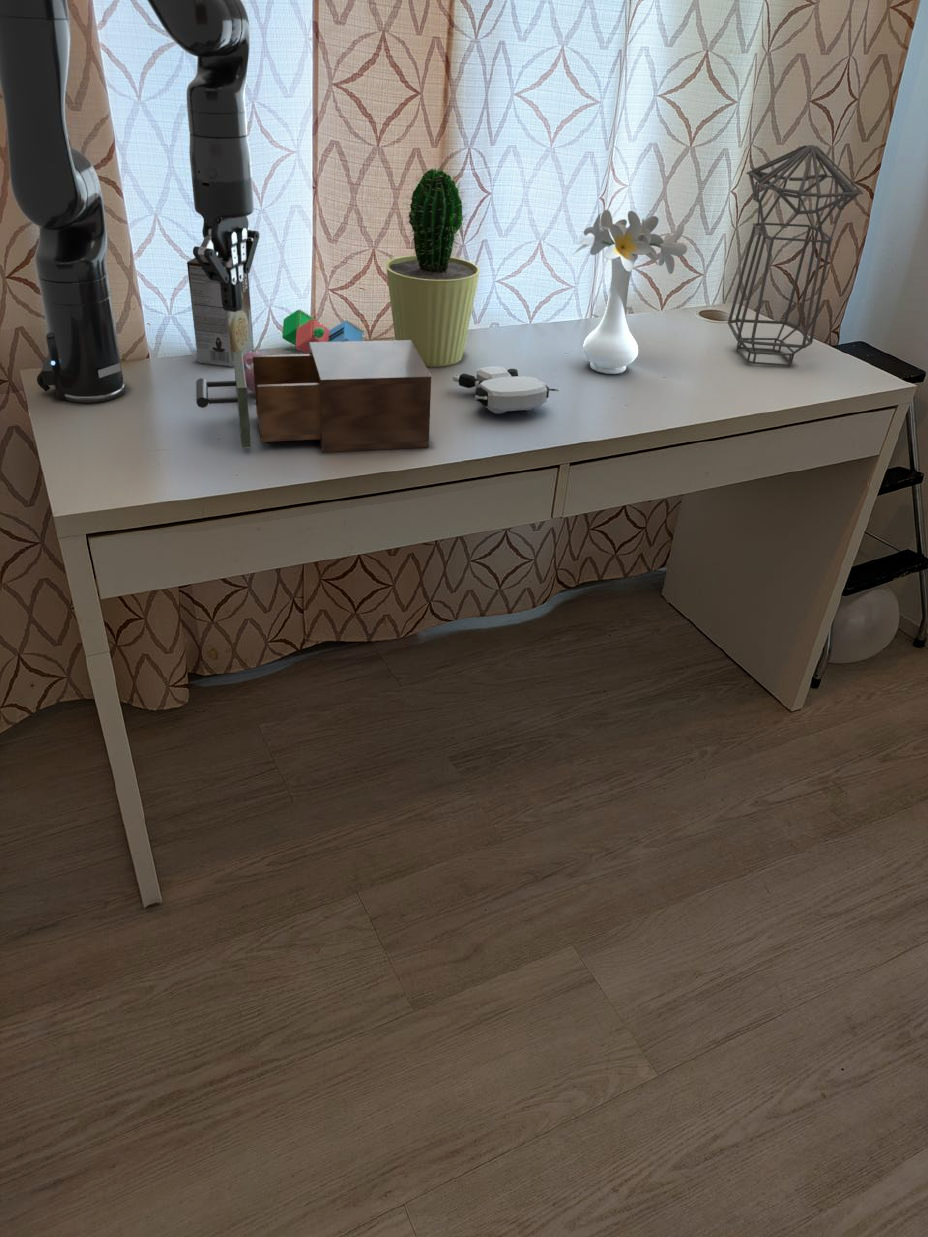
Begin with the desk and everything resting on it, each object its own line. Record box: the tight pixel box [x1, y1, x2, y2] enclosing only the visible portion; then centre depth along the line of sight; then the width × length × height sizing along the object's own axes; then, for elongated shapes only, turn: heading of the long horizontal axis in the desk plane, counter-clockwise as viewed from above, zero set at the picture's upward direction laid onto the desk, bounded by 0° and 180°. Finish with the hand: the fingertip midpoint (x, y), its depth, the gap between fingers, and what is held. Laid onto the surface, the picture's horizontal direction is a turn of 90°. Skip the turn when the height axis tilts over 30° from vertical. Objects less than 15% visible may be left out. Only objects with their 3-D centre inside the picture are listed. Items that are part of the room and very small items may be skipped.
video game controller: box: [242, 349, 264, 394], centre depth 148 cm, size 10×5×7 cm, turn 5°
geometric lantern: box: [727, 144, 864, 367], centre depth 165 cm, size 16×16×35 cm
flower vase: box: [572, 209, 688, 375], centre depth 160 cm, size 13×18×25 cm
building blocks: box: [281, 309, 365, 354], centre depth 163 cm, size 8×8×12 cm
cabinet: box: [309, 339, 432, 453], centre depth 137 cm, size 15×15×10 cm
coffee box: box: [186, 257, 255, 368], centre depth 156 cm, size 9×6×16 cm
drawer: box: [195, 352, 322, 449], centre depth 134 cm, size 19×14×8 cm
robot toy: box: [452, 365, 560, 415], centre depth 150 cm, size 12×4×15 cm
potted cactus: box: [384, 165, 481, 368], centre depth 158 cm, size 15×15×30 cm
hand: (232, 309), depth 133 cm, fingers closed
